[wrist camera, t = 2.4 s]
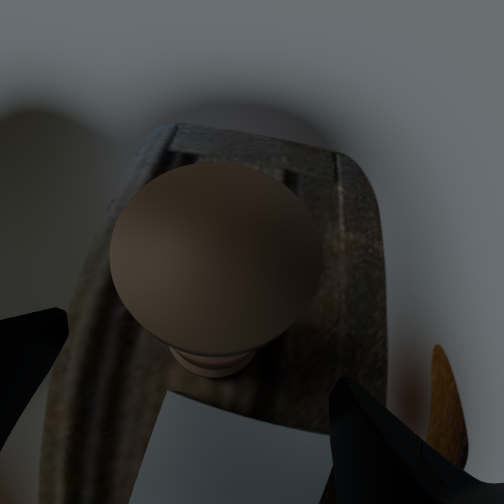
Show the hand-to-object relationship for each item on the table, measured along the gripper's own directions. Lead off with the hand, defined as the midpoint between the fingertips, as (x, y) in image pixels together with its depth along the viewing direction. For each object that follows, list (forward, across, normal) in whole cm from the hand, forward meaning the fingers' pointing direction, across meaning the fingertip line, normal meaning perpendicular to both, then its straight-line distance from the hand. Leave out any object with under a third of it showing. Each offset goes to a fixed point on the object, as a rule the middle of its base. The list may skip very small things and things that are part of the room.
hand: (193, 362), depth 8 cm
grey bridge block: (+3, -3, +12) cm, 12 cm away
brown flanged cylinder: (+9, 0, +5) cm, 11 cm away
